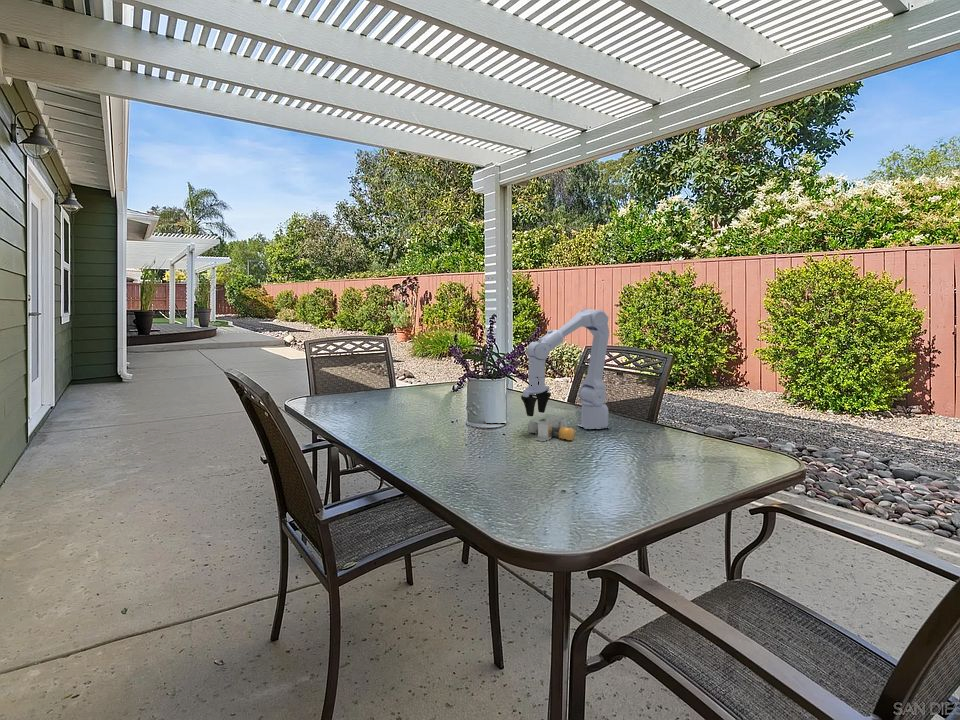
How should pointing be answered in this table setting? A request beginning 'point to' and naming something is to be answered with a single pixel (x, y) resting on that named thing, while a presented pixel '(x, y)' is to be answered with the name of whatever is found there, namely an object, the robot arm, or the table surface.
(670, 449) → the table surface
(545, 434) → the housing
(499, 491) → the table surface
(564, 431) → the plug
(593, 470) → the table surface
